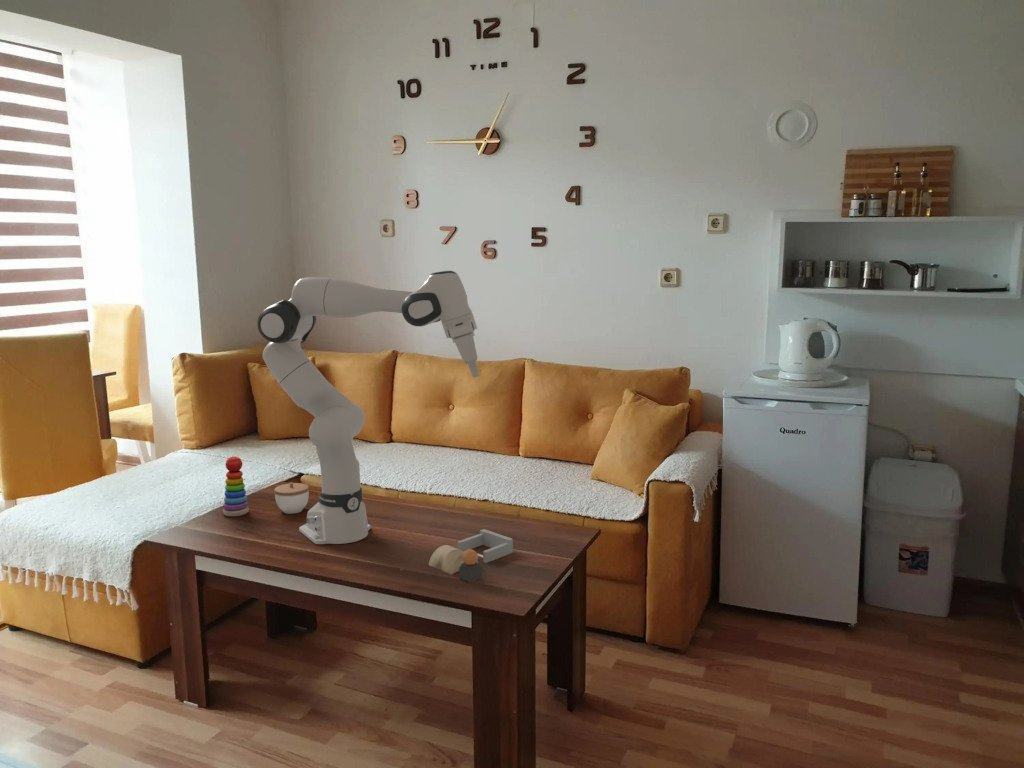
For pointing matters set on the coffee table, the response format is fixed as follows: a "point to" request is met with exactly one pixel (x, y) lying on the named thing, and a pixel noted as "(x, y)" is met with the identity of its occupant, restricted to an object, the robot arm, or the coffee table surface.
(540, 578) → the coffee table surface
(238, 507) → the stacking toy
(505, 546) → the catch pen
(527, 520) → the coffee table surface
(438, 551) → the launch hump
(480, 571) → the cube with raised frame
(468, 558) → the ball
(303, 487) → the lidded jar
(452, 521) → the coffee table surface
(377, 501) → the coffee table surface
